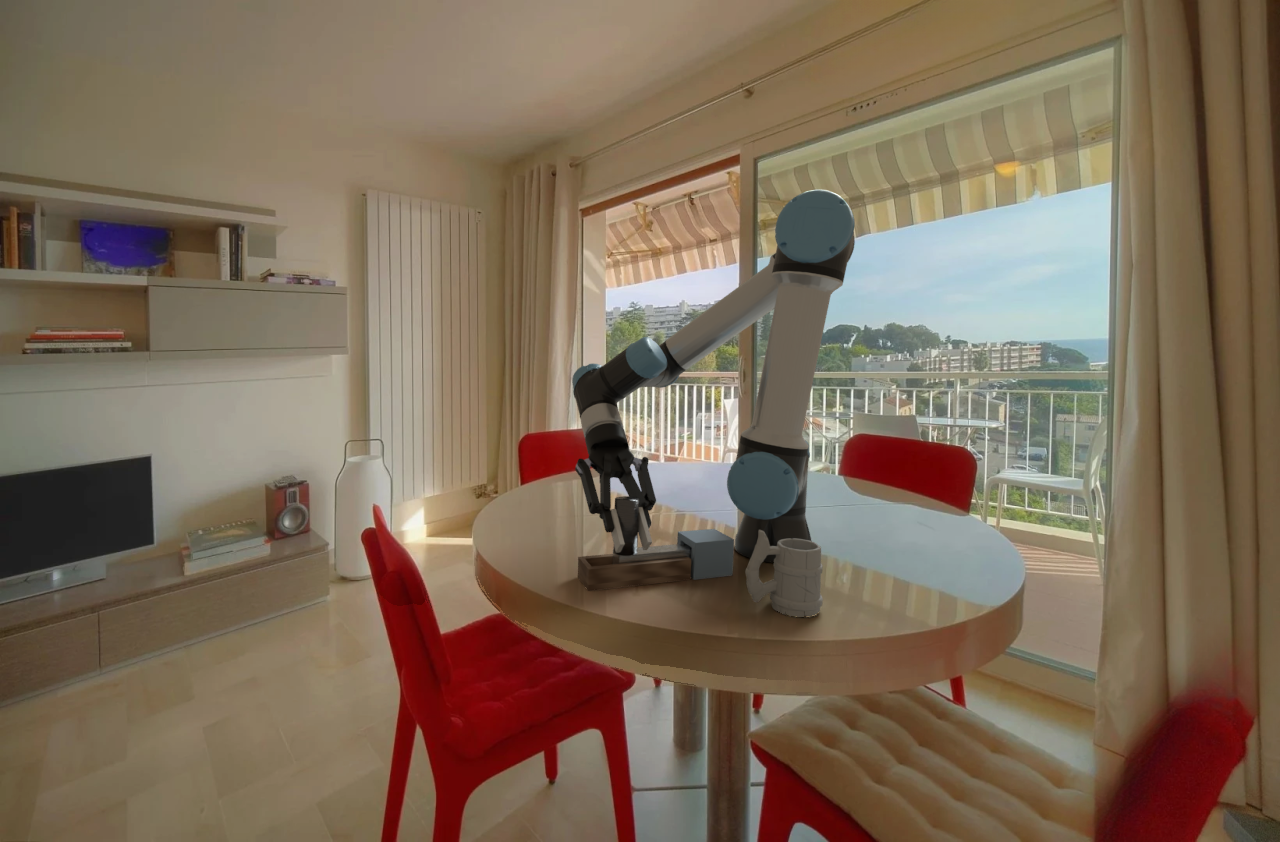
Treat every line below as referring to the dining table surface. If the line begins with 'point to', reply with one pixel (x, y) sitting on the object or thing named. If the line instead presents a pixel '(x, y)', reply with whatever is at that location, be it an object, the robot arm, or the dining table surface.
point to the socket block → (709, 553)
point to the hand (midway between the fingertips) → (634, 546)
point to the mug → (788, 575)
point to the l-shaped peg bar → (629, 527)
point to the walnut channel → (630, 572)
